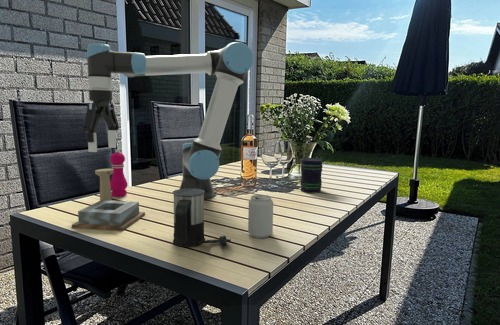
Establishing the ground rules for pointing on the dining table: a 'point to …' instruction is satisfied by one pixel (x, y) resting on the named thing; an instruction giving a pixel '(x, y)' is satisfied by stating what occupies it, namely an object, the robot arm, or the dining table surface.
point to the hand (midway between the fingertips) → (103, 149)
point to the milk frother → (191, 219)
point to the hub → (109, 215)
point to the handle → (105, 183)
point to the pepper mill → (118, 175)
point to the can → (260, 216)
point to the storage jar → (311, 175)
